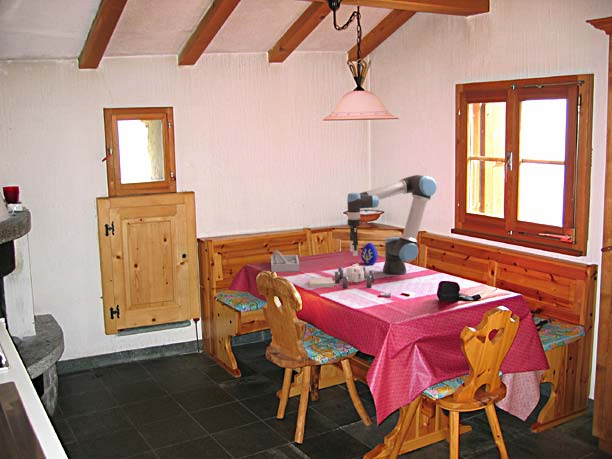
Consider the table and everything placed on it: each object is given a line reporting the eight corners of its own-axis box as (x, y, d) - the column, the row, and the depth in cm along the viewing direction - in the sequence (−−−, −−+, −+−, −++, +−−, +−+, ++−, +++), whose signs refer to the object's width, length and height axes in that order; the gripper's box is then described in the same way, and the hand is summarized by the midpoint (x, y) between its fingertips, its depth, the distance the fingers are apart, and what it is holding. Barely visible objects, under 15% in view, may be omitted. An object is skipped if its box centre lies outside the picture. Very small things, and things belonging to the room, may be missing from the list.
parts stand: (331, 281, 427) (331, 277, 426) (333, 287, 413) (333, 283, 412) (308, 282, 426) (308, 278, 426) (310, 287, 412) (310, 283, 412)
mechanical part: (357, 279, 430) (357, 261, 428) (367, 283, 419) (367, 264, 418) (341, 281, 425) (341, 263, 424) (351, 286, 415) (351, 266, 413)
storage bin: (297, 261, 487) (297, 254, 486) (299, 271, 458) (299, 263, 457) (271, 262, 486) (271, 255, 485) (271, 272, 457) (271, 264, 456)
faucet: (296, 263, 464) (280, 243, 473) (283, 270, 459) (267, 249, 469) (295, 276, 475) (279, 255, 484) (282, 282, 470) (266, 262, 480)
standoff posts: (370, 276, 437) (370, 266, 436) (377, 287, 409) (377, 276, 408) (332, 278, 436) (332, 267, 434) (337, 289, 408) (337, 277, 407)
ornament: (359, 264, 473) (359, 243, 470) (365, 262, 480) (365, 241, 478) (374, 266, 467) (374, 244, 464) (380, 263, 475) (380, 242, 472)
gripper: (345, 216, 428) (345, 249, 432) (350, 222, 404) (350, 257, 407) (357, 215, 429) (357, 249, 432) (362, 221, 404) (362, 257, 407)
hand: (353, 253), depth 419 cm, fingers open, 13 cm apart
